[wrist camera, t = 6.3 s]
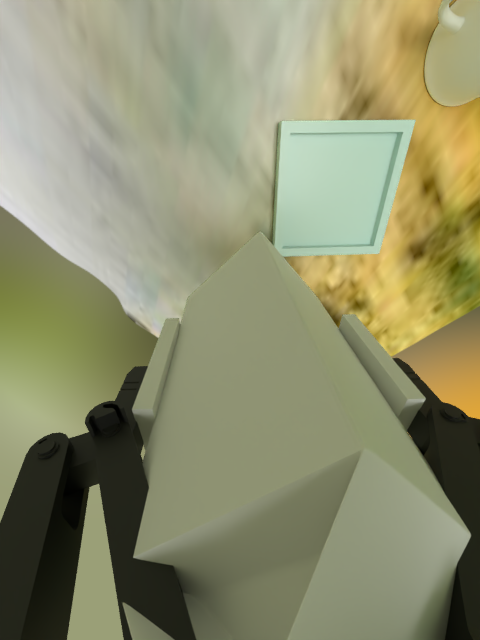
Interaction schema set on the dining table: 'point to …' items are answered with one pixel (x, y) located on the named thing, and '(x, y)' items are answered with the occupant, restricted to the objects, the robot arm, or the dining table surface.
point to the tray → (336, 184)
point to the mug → (454, 54)
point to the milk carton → (288, 476)
